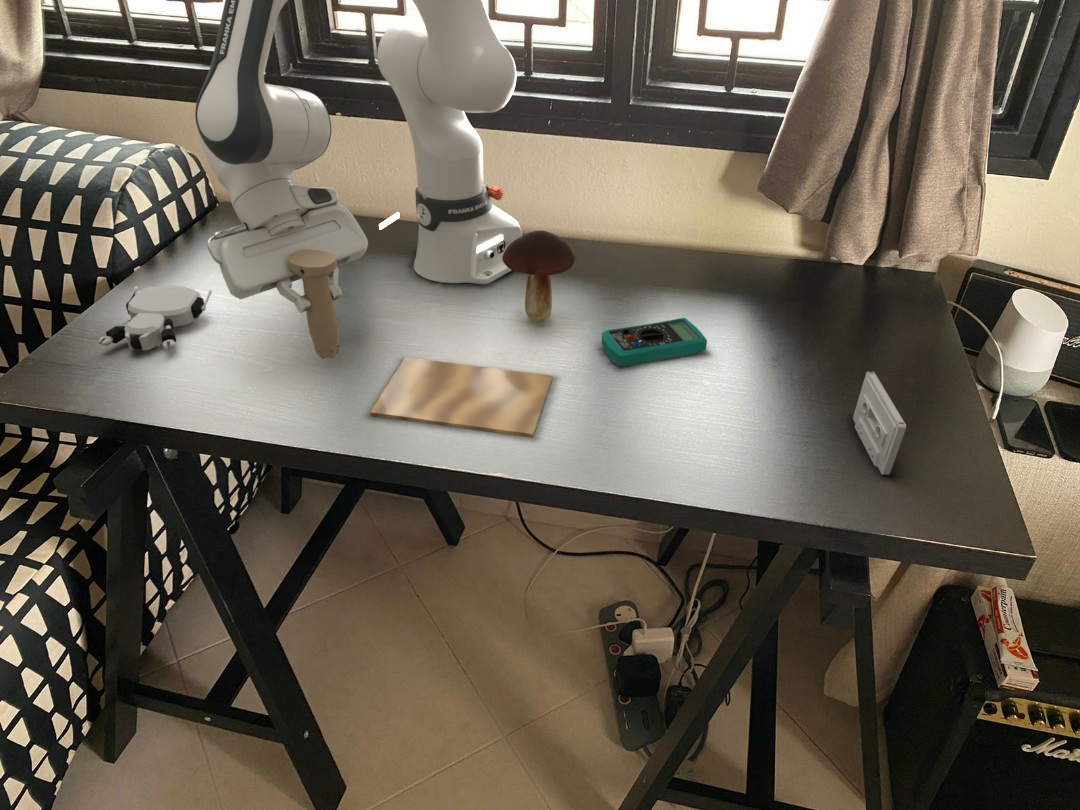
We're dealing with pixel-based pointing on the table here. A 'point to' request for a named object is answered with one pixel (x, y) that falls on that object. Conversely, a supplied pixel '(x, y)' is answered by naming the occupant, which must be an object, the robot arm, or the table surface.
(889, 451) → the cassette
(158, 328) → the robot toy
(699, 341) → the digital multimeter
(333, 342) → the handle
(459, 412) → the board
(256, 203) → the robot arm
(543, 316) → the decorative mushroom
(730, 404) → the table surface
